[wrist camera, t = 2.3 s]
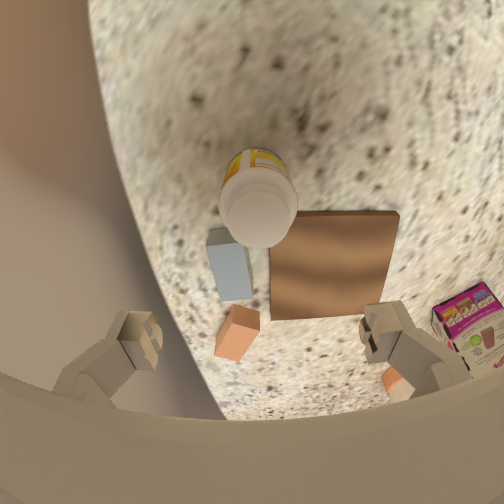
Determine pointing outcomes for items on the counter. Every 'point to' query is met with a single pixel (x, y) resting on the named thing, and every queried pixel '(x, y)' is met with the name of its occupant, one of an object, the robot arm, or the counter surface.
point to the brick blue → (230, 266)
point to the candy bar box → (473, 328)
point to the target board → (331, 263)
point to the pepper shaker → (397, 386)
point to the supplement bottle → (257, 199)
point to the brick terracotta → (237, 333)
